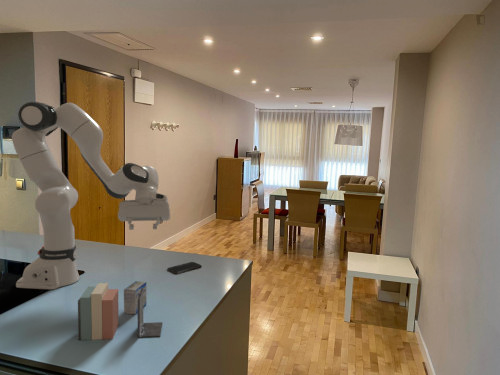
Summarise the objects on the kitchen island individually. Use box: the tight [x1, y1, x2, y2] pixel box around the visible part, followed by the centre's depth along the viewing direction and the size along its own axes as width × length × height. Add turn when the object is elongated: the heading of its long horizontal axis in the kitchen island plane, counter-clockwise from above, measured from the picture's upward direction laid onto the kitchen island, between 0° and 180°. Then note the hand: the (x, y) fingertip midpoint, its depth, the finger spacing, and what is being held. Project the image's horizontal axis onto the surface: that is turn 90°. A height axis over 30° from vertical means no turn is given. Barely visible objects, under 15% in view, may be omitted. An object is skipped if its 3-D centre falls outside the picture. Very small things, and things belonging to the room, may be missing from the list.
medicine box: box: [123, 280, 147, 315], centre depth 124 cm, size 8×4×9 cm, turn 168°
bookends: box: [77, 288, 163, 341], centre depth 109 cm, size 23×8×12 cm, turn 99°
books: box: [79, 282, 119, 341], centre depth 108 cm, size 9×8×14 cm
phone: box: [166, 261, 203, 275], centre depth 166 cm, size 8×1×15 cm
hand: (143, 228), depth 140 cm, fingers open, 8 cm apart
